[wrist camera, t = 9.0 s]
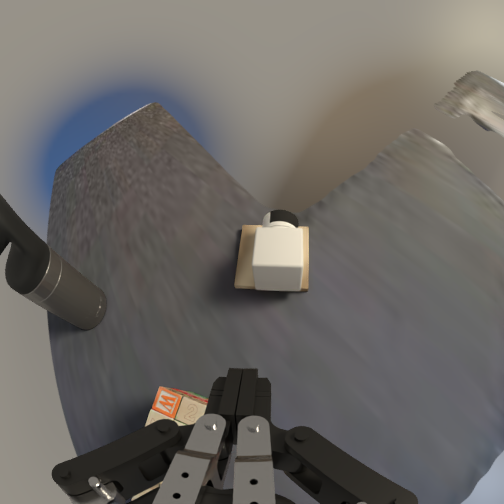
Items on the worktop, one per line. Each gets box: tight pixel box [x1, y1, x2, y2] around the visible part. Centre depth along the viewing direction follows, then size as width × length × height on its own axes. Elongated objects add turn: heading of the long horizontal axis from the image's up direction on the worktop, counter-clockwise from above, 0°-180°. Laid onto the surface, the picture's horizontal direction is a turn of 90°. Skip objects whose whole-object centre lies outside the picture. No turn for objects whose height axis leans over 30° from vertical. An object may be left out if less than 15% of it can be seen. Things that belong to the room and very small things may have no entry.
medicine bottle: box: [252, 210, 303, 291], centre depth 44 cm, size 7×7×12 cm
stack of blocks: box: [131, 386, 209, 501], centre depth 28 cm, size 21×6×12 cm, turn 162°
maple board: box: [234, 225, 309, 291], centre depth 48 cm, size 12×12×1 cm
